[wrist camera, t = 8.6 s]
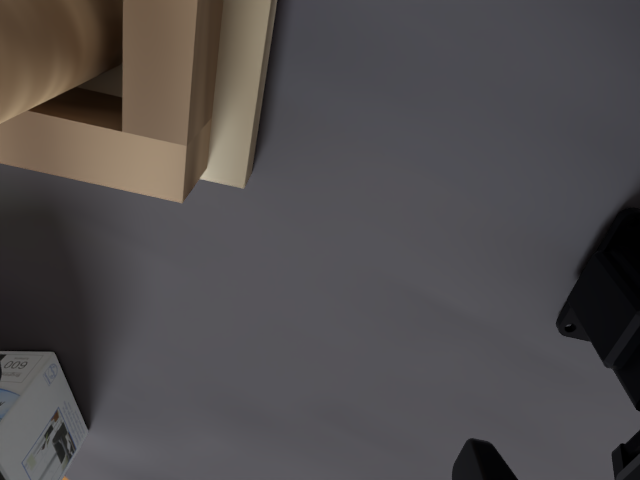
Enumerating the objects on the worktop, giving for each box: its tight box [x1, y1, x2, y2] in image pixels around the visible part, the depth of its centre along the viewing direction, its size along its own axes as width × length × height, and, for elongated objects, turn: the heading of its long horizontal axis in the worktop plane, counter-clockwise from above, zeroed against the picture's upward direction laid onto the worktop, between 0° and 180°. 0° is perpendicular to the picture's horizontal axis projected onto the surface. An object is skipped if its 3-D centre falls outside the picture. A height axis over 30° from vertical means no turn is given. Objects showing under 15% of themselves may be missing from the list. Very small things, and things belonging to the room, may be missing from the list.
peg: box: [0, 0, 123, 124], centre depth 13 cm, size 4×4×8 cm
